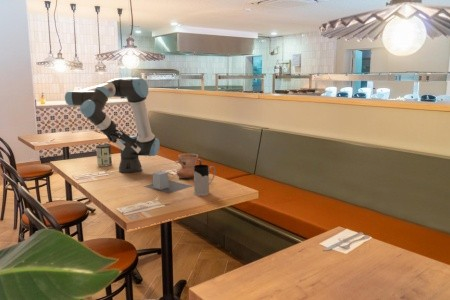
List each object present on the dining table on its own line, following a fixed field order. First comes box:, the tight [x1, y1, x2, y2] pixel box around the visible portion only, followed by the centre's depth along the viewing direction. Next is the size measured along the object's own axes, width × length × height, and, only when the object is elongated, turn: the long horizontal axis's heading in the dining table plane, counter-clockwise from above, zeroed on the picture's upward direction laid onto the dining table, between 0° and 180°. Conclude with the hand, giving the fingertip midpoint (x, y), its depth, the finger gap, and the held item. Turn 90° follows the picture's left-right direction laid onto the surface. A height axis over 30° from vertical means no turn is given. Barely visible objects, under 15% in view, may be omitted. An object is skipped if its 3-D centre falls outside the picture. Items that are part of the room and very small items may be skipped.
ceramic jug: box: [174, 153, 203, 180], centre depth 236 cm, size 18×14×14 cm
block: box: [152, 170, 169, 190], centre depth 211 cm, size 6×6×9 cm
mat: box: [143, 179, 193, 194], centre depth 216 cm, size 22×18×1 cm
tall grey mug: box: [193, 164, 216, 197], centre depth 204 cm, size 9×14×15 cm, turn 135°
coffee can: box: [95, 144, 113, 167], centre depth 274 cm, size 10×10×14 cm
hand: (131, 149), depth 207 cm, fingers open, 13 cm apart
